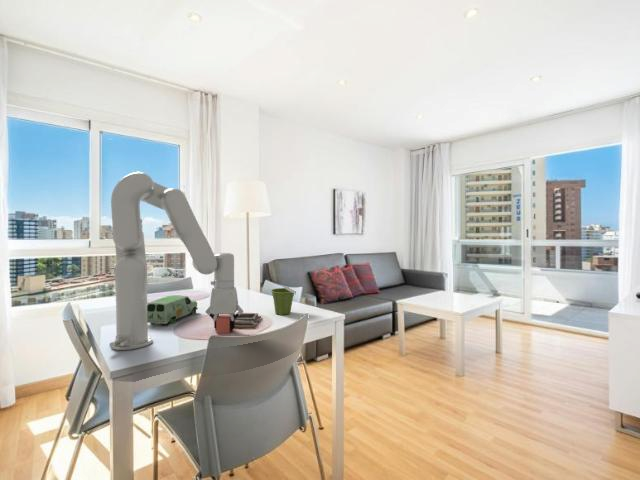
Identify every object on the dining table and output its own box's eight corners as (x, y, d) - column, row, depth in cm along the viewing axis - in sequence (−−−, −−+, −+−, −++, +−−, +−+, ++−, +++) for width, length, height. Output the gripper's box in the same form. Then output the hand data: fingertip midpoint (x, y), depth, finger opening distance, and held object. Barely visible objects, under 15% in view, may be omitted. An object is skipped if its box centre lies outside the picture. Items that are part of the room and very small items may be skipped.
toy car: (198, 312, 161) (198, 292, 161) (166, 327, 137) (166, 303, 136) (178, 311, 163) (178, 291, 162) (143, 326, 138) (143, 302, 138)
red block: (229, 333, 129) (229, 318, 129) (216, 333, 129) (216, 318, 129) (232, 329, 134) (232, 315, 134) (220, 329, 134) (220, 314, 134)
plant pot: (276, 317, 152) (276, 293, 152) (267, 312, 162) (267, 289, 162) (299, 314, 158) (299, 291, 158) (288, 309, 168) (289, 287, 168)
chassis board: (254, 328, 135) (254, 322, 135) (224, 328, 135) (224, 322, 135) (261, 318, 151) (261, 312, 151) (234, 318, 151) (234, 312, 151)
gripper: (199, 285, 127) (199, 333, 127) (243, 286, 127) (243, 333, 127) (206, 282, 134) (206, 327, 135) (248, 283, 134) (248, 327, 135)
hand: (224, 329), depth 131 cm, fingers closed on red block, 5 cm apart
